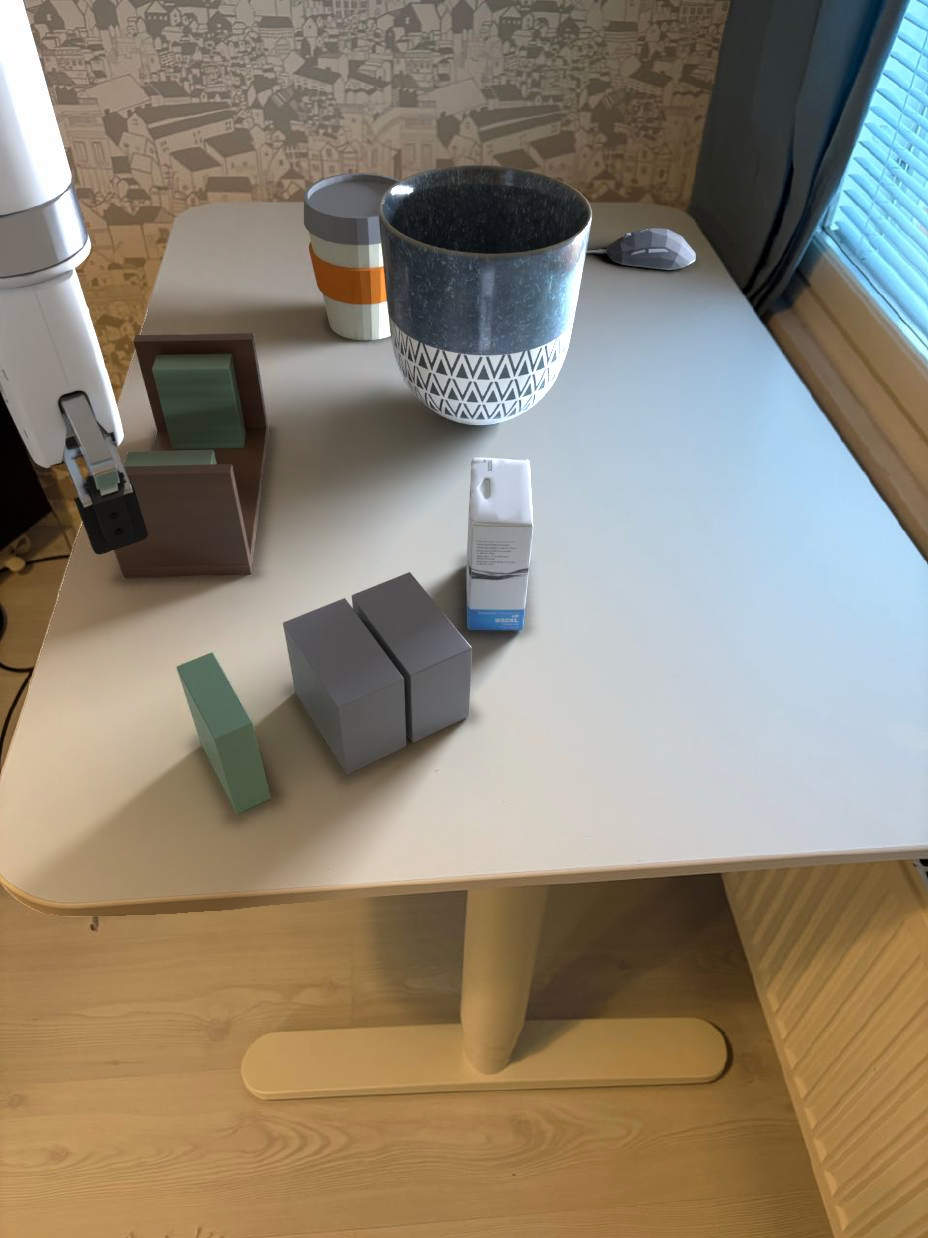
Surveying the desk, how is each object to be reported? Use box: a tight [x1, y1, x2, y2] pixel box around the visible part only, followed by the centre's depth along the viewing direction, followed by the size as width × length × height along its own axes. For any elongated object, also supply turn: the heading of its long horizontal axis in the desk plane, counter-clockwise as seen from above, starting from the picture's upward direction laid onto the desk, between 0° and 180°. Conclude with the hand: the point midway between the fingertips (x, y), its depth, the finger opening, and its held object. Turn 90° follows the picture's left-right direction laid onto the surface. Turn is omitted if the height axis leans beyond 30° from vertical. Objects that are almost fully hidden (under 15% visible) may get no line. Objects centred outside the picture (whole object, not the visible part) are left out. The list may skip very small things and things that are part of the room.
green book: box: [176, 651, 272, 815], centre depth 63 cm, size 3×7×9 cm, turn 32°
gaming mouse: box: [586, 227, 697, 271], centre depth 122 cm, size 6×15×4 cm, turn 82°
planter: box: [378, 164, 593, 426], centre depth 91 cm, size 20×20×21 cm
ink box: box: [466, 456, 534, 631], centre depth 75 cm, size 8×5×12 cm, turn 179°
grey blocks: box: [282, 571, 473, 776], centre depth 68 cm, size 10×9×8 cm
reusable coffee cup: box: [303, 172, 401, 341], centre depth 105 cm, size 13×13×15 cm
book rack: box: [88, 332, 270, 579], centre depth 83 cm, size 21×11×11 cm, turn 4°
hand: (97, 498), depth 57 cm, fingers open, 9 cm apart
